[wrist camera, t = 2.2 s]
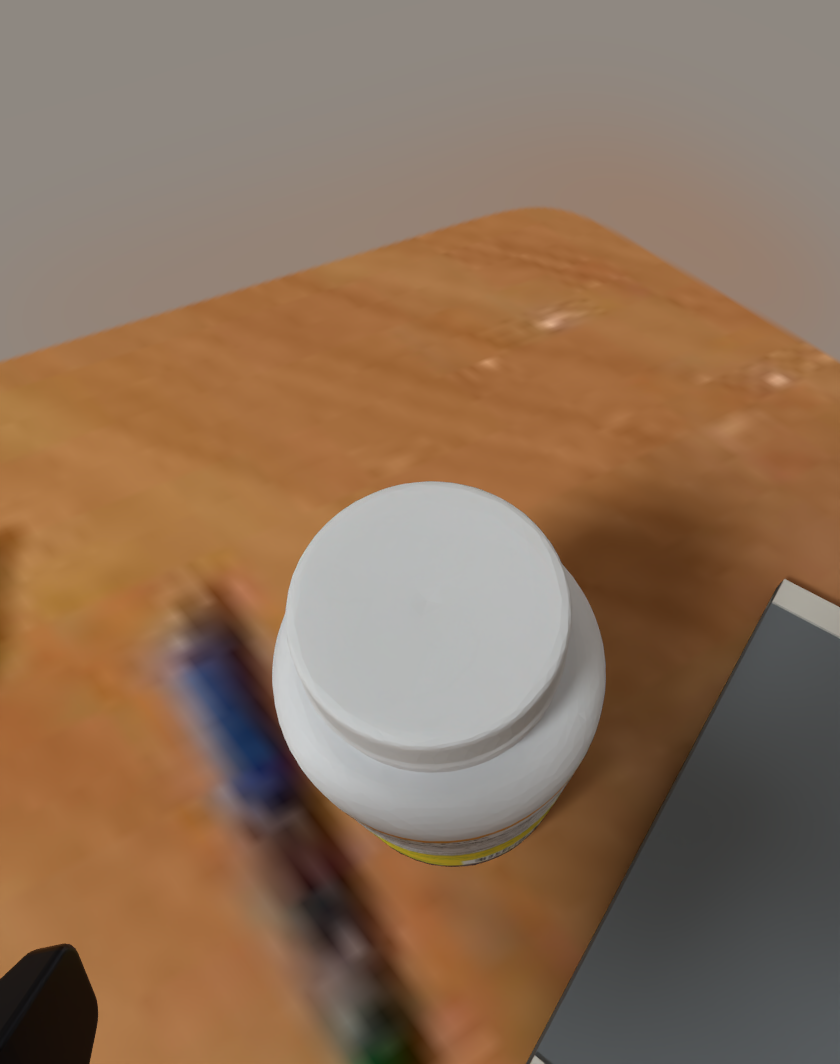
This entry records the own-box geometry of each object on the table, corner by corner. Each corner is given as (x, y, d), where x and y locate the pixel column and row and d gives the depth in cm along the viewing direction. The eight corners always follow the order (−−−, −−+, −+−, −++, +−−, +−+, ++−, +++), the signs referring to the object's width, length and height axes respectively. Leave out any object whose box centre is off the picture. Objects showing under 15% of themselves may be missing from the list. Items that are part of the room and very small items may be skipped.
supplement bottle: (387, 628, 20) (318, 399, 11) (580, 684, 19) (670, 479, 10) (313, 827, 18) (150, 733, 9) (528, 905, 17) (587, 889, 8)
